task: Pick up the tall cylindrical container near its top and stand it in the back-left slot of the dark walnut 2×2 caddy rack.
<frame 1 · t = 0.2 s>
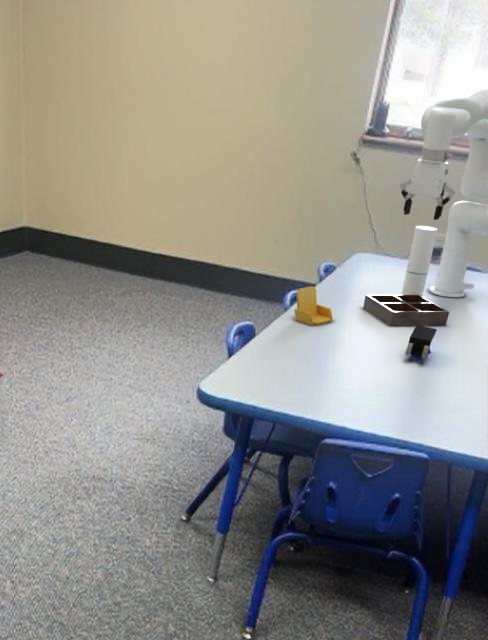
hand: (421, 216, 250), 31 cm above the table, tool pointing down, fingers open, 9 cm apart
rack: (403, 316, 267), on the table
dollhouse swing: (312, 320, 256), on the table
cylindrical container: (410, 303, 283), on the table
figurine character: (417, 357, 231), on the table
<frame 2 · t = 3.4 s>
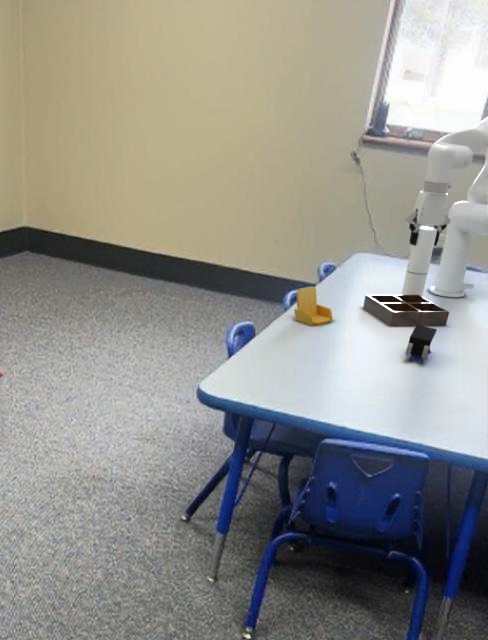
hand: (423, 244, 272), 20 cm above the table, tool pointing down, fingers closed on cylindrical container, 7 cm apart
cylindrical container: (410, 303, 283), on the table, touching gripper
everything else where it was.
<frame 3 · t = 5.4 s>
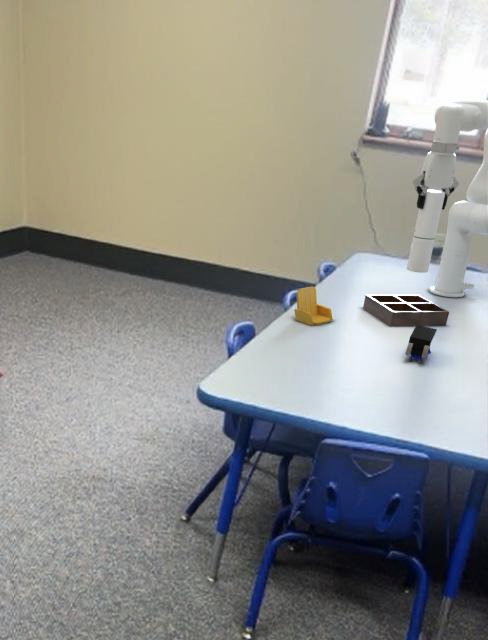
hand: (430, 208, 265), 31 cm above the table, tool pointing down, fingers closed on cylindrical container, 7 cm apart
cylindrical container: (417, 270, 275), point 11 cm above the table, touching gripper
everything else where it was.
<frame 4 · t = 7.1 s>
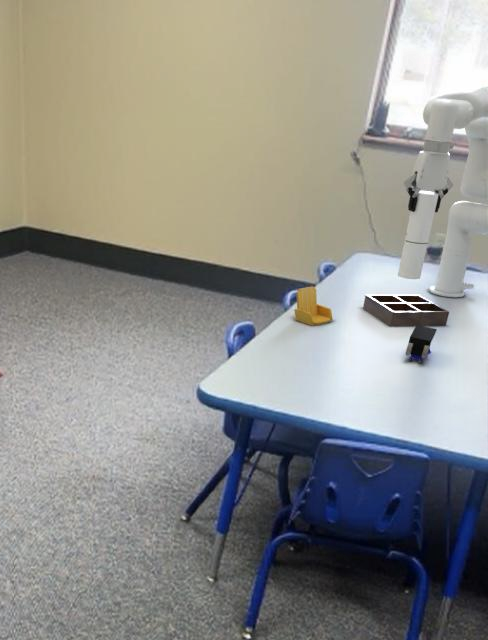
hand: (422, 210, 249), 33 cm above the table, tool pointing down, fingers closed on cylindrical container, 7 cm apart
cylindrical container: (408, 276, 259), point 13 cm above the table, touching gripper
everything else where it was.
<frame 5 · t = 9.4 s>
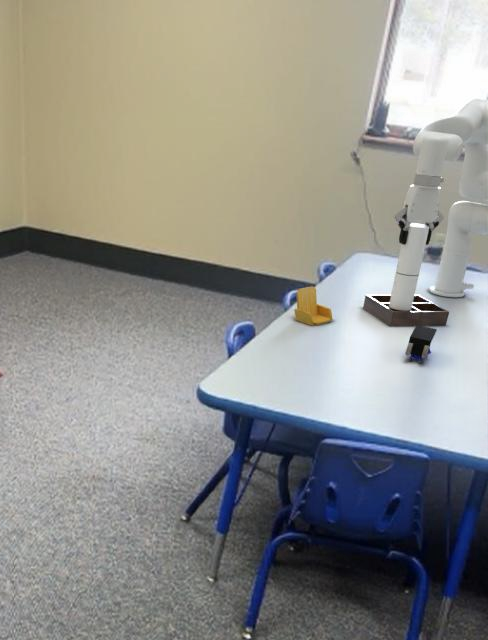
hand: (413, 243, 249), 24 cm above the table, tool pointing down, fingers closed on cylindrical container, 7 cm apart
cylindrical container: (400, 307, 259), point 4 cm above the table, touching gripper
everything else where it was.
when the fingers open (21 cm above the table, at t = 10.9 s): cylindrical container stays where it is, resting on rack.
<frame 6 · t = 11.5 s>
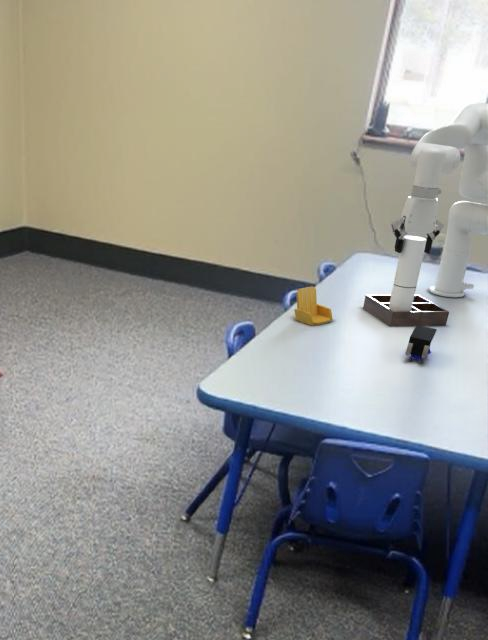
hand: (411, 252, 250), 22 cm above the table, tool pointing down, fingers open, 9 cm apart
cylindrical container: (397, 319, 261), point 1 cm above the table, touching rack
everything else where it was.
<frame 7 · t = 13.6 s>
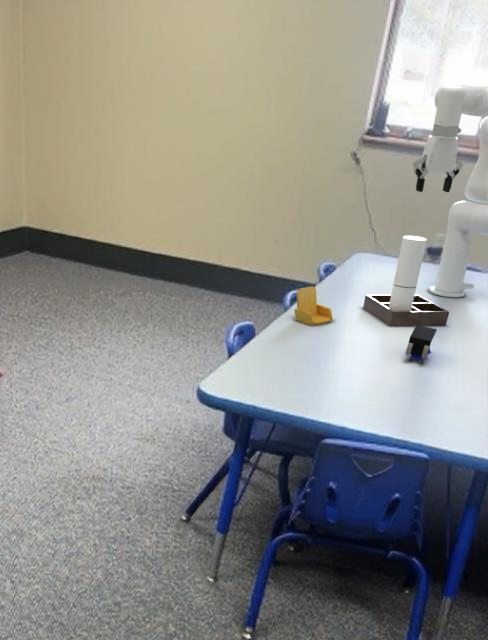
hand: (432, 191, 259), 37 cm above the table, tool pointing down, fingers open, 9 cm apart
nothing on the table moved.
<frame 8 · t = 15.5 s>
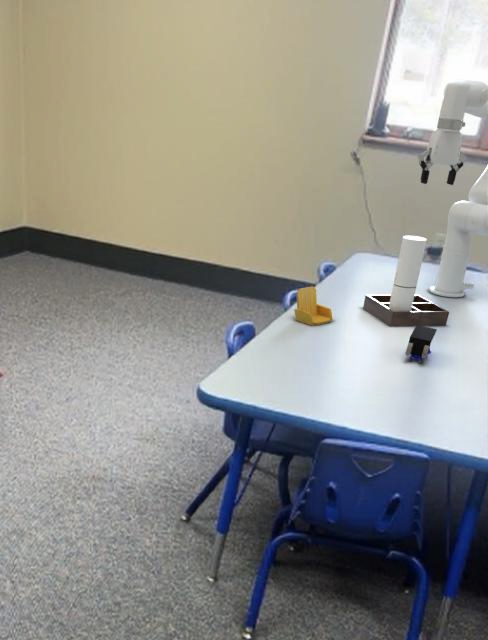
hand: (436, 183, 265), 38 cm above the table, tool pointing down, fingers open, 9 cm apart
nothing on the table moved.
at the end: cylindrical container 0.1 cm from the target spot in the rack, point 0.6 cm above the rack's base; cylindrical container tilted 0°; the gripper is holding nothing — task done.
